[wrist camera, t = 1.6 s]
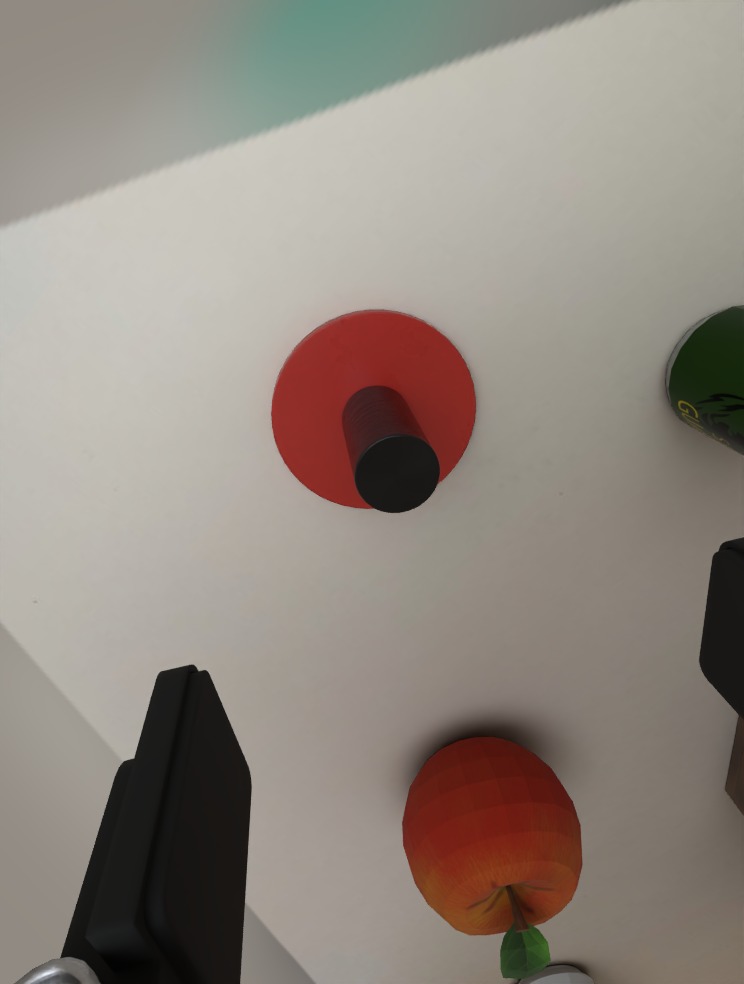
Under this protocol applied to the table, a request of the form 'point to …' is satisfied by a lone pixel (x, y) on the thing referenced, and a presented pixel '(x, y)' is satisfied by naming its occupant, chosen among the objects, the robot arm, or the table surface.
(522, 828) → the fruit
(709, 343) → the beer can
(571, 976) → the can
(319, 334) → the pot lid
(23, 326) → the table surface
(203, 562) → the table surface
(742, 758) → the chest
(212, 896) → the robot arm
